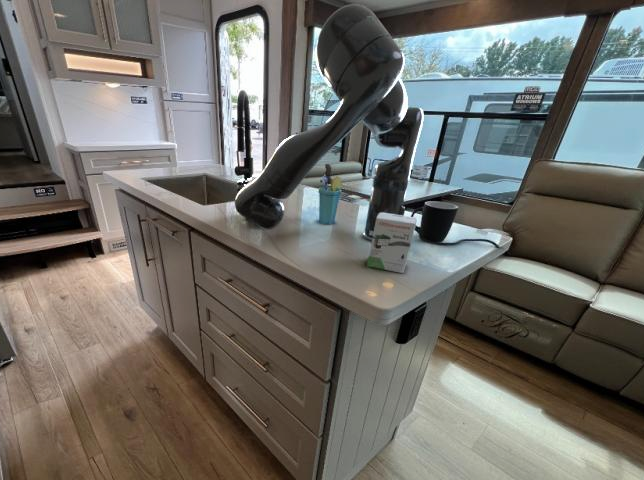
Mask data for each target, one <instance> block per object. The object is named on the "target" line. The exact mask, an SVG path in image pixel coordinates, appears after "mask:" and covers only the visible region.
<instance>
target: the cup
mask: <svg viewBox="0 0 644 480" xmlns="http://www.w3.org/2000/svg"><path fill="white" fill-rule="evenodd" d="M319 182H320V184H321V183H323V182H324V186H321V187H318V194H319V195H318V196H319V197H318V198H319V199H318V201H319V202H318V204H319V205H318V211H319V212H318V223H319V224H322V225H333V224H335V220H336V215H337V211H338V206H339V200H340V196H341V195H342V185H343V182H342V178H341V177H339V176H334V177H333V178H332V179H331V183H330V186H329V184H328V177H327V176H324V177H322V178H321V179H320V180H319Z"/></svg>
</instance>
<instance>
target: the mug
mask: <svg viewBox="0 0 644 480" xmlns="http://www.w3.org/2000/svg"><path fill="white" fill-rule="evenodd" d="M458 210H459V206H458V205H456V204H454V203H450V202H445V201H435V200H434V201H433V200H432V201H431V200H430V201H425V202H424V204H423V206H421V207H418V208H416V209H414V210H413V211H412V213H411V215H410V217H414V216H415V214H416V213H417V212H420V211H422V212H421V213H422V214H421V219H420V226H418V225H416V226H415V228H417V229H418V230H419V231H420V232H421V235H422V237H423V238H424V239H426V240H428V241H431V242H440V243H443V242H444V240H445V239H446V238H447V237H448V235H449V234H450V230H451V229H452V226H453V224H454V221H455V219H456V217H457V213H458Z"/></svg>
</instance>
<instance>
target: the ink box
mask: <svg viewBox="0 0 644 480" xmlns="http://www.w3.org/2000/svg"><path fill="white" fill-rule="evenodd" d="M417 221H418V219H417V217H414V216H413V217H411V216H410V215H409V216H407V215H404V216H402V215H395V214H389V213H379V214H378V216H377V218H376V223H375V228H374V233H373V238H372V240H371V243H370V248H369V254H368V258H367V263H366V266H367V267H369V268H374V269H380V270H385V271H388V272H389V271H390V272H395V273H400V274H404V272H405V268H406V265H407V261H408V257H409V254H410V249H411V247H412V246H411V245H412V243H413V238H414V234H415V226H417Z"/></svg>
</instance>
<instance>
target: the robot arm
mask: <svg viewBox="0 0 644 480" xmlns="http://www.w3.org/2000/svg"><path fill="white" fill-rule="evenodd" d="M315 61H316V66H317V70H318V71H319V73H320V76H322V78H323V80H324V81H325V82H326V84H327V85H328V86H329V88H330V89H331V90H332V92H333V93H334V95H335V96H336V97H337V99H338V101H339V102H340V105H339V106H338V108H337V110H335V112H334V113H333V114H332V116H331V117H329V118H328V119H327V120H326V121H325V122H323V123H321V124H320V125H317V126H315V127H313V128H310V129H308V130H304V131H301V132H298V133H296V134H293V135H291V136H289V137H288V138H286V139H284V140H283V141H282V142H281V143H280V144H279V146H278V147H277V148H276V149H275V151H274V152H273V154H272V155H271V157H270V159H269V160H268V161H267V163H266V165H265V167H263V169H262V171H261V172H259V175H256V174H255V175H256V176H254V177H253V178H252V177H250V178H247V179H245V178H241V179H239V180H238V181H236V191H237V192H238V193H237V194H236V196H235V199H234V207H235V210H236V212H237V213H238V214H239V215H241V217H244V218H245V219H246V218H247V219H249V220H250V222H252V223H253V224H255V225H257V226H258V227H260V228H262V229H263V230H267V231H268V230H273V229H275V228H277V227H278V226H279V225H280V224H281V222H282V221H283V219H284V216H285V211H286V210H285V203H284V201H283V200H287V199H288V198H289V197H290V196H292V194H293V193H294V192H295V190H296V189H297V188H298V187H299V185H300V184H301V183H302V181H304V179H305V178H306V176H307V175H308V174H309V173H310V172H311V171H312V169H313V168H314V167H315V166H316V165H317V164H318V163H319V162H320V161H321V160H322V159H323V158H324V157H325V156H326V155H327V154H328V153H329V152H331V150H332V149H333V148H334V147H335V146H337V145H338V144H339V143H340V142H341V141H342V140H343V139H344V138H345V137H346V136H347V135H348V134H349V133H351V131H352V130H353V129H355V128H356V127H357V126H358V125H359V124H360V123H361V122H362V124H363V125H364V126H365V127H366V128H367V129H368V130H369V131H370V132H371V133H372V136H373V138H374V141H375V143H376V144H377V145H378V146H379V147H381V148H385V149H399V150H401V152H400V154H399V155H398V156H396V157H393V158H392V159H390V160H386V161H383V162H380V163H377V164H376V165H375V168H374V171H373V178H372V185H371V191H370V197H369V202H368V210H367V214H366V221H365V226H364V232H363V237H364V238H365V239H367V240H369V241H372V238H373V233H374V228H375V223H376V218H377V216H378V214H379V213H389V214H395V215H402V216H405V211H406V207H405V206H404V202H405V199H406V193H407V188H408V185H409V181H410V176H411V170H412V167H413V162H414V158H415V153H416V149H417V146H418V142H419V138H420V135H421V131H422V128H423V122H424V111H423V109H422V108H421V107H416V106H415V107H414V106H412V107H411V106H409V105H408V104H409V100H408V94H407V91H406V87H405V84H404V83H403V80H402V78H401V75H402V73H403V70H404V68H405V55H404V53H403V51H402V49H401V48H400V46H399V45H398V43H397V42H396V41H395V39H393V37H392V36H391V34H390V33H389V31H388V30H387V29H386V27H385V26H384V25H383V23H382V22H381V21H380V20H379V18H378V17H377V15H376V14H375V13H374V11H372V10H371V9H369V8H368V7H366V6H365V5H362V4H359V3H350V4H346V5H344V6H342V7H340V8H338V9H337V10H336V11H334V12H333V13H332V14H331V15H330V16H329V17H328V18H327V19H326V21H325V22H324V24H323V26H322V28H321V30H320V31H319V34H318V37H317V41H316V46H315ZM414 232H416V233H417V234H418V237H419V238H420V240H421V241H423V242H425V243H428V244H432V245H437V246H456V245H459V244H460V243H462V242H485V243H489V244H491V245H493V246H494V247H495V248H496V249H500V246H499V244H498V243H496V242H495V241H493V240H490V239H486V238H463V239H462V238H461V239H459V240H457V241H455V242H454V241H453V242H431V241H428V240H426V239H424V238H423V237H422V235H421V232H420V231H419V230H418V229H417V228H415V230H414Z"/></svg>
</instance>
